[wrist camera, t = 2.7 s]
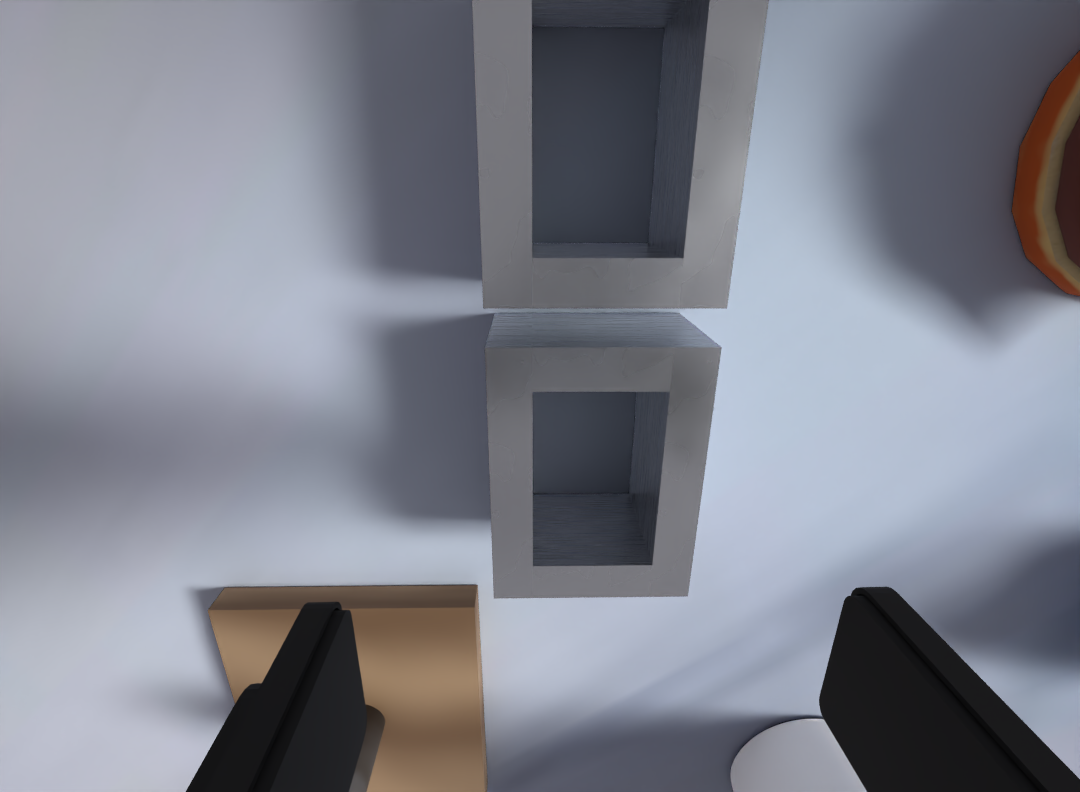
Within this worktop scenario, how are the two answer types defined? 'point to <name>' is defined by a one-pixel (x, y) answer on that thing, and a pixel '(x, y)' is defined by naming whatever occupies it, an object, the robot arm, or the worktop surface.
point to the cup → (794, 761)
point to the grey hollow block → (679, 166)
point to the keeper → (383, 674)
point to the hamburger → (1052, 183)
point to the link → (656, 466)
